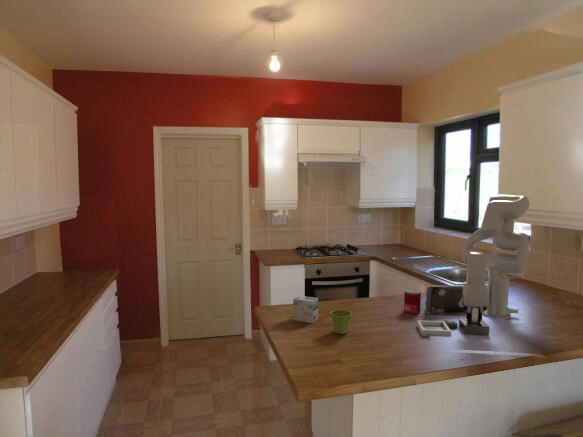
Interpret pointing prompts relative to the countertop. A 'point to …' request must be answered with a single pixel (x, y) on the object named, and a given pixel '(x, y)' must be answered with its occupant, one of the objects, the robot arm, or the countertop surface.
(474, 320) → the pin
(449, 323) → the wheel
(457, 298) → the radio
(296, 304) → the light bulb box
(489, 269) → the robot arm
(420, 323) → the parts tray
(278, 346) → the countertop surface
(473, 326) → the block
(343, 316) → the plant pot
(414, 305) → the canned food
